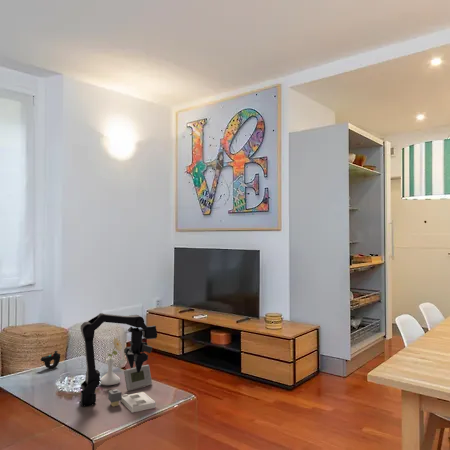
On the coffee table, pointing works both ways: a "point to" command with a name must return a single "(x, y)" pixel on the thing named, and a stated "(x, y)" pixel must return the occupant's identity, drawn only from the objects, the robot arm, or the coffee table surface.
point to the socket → (138, 402)
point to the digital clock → (137, 378)
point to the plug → (115, 397)
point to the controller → (49, 358)
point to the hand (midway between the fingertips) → (134, 370)
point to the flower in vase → (110, 376)
